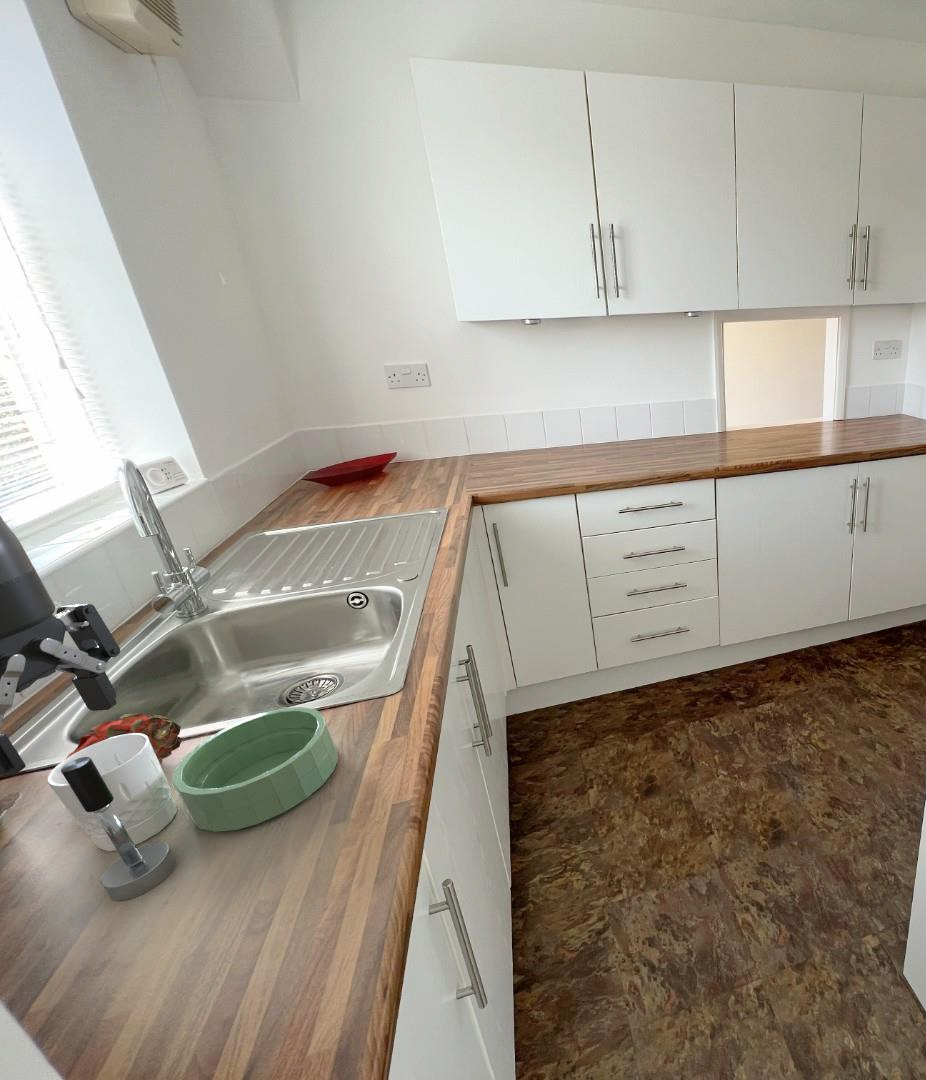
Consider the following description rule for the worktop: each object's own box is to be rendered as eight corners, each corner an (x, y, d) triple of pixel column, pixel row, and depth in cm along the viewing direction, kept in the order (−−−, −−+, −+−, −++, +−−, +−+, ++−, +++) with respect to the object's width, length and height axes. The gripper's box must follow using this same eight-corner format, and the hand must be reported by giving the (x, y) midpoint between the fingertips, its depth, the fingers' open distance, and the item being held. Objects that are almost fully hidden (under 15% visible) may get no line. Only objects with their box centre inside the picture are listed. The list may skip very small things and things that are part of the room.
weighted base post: (94, 903, 58) (17, 787, 52) (140, 857, 63) (74, 746, 57) (147, 899, 58) (76, 782, 52) (189, 853, 63) (128, 742, 57)
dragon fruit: (206, 760, 78) (90, 816, 73) (189, 708, 81) (76, 757, 76) (171, 744, 72) (40, 804, 66) (154, 687, 75) (27, 740, 69)
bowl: (159, 840, 64) (136, 799, 62) (251, 748, 78) (235, 711, 76) (293, 830, 65) (274, 788, 63) (361, 739, 78) (348, 703, 76)
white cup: (90, 830, 66) (47, 761, 63) (179, 789, 72) (145, 723, 68) (92, 870, 61) (46, 798, 58) (188, 823, 67) (151, 754, 63)
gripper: (11, 549, 54) (92, 693, 60) (-209, 627, 41) (-76, 802, 47) (94, 543, 54) (166, 688, 60) (-99, 618, 41) (19, 794, 47)
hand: (60, 738), depth 53 cm, fingers open, 8 cm apart
